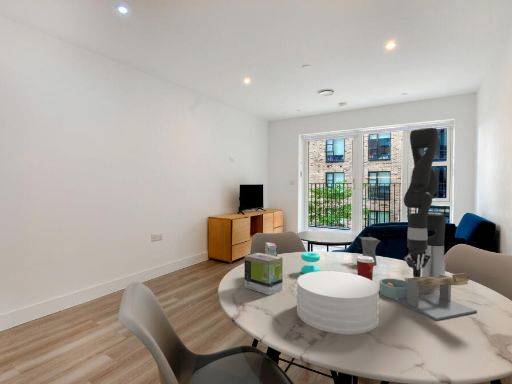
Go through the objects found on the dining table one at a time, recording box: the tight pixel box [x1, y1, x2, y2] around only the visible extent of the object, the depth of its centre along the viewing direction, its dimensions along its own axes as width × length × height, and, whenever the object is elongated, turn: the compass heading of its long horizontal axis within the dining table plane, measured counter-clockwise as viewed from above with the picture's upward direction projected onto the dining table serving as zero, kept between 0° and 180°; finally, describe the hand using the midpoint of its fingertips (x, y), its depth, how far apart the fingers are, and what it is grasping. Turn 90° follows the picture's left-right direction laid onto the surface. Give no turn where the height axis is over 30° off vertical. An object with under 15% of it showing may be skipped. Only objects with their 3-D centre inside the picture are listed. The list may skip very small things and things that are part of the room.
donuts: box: [300, 252, 321, 274], centre depth 148 cm, size 10×10×10 cm
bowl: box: [378, 277, 408, 300], centre depth 119 cm, size 12×12×5 cm
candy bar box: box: [264, 241, 278, 256], centre depth 143 cm, size 11×5×16 cm, turn 5°
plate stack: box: [296, 270, 380, 335], centre depth 100 cm, size 28×28×12 cm
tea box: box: [244, 252, 284, 296], centre depth 125 cm, size 15×10×15 cm
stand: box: [396, 274, 478, 322], centre depth 106 cm, size 17×20×10 cm
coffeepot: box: [354, 233, 381, 267], centre depth 167 cm, size 15×9×18 cm, turn 44°
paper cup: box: [355, 255, 374, 281], centre depth 125 cm, size 8×8×14 cm
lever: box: [403, 272, 470, 286], centre depth 108 cm, size 30×16×4 cm, turn 18°
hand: (416, 277), depth 120 cm, fingers closed
